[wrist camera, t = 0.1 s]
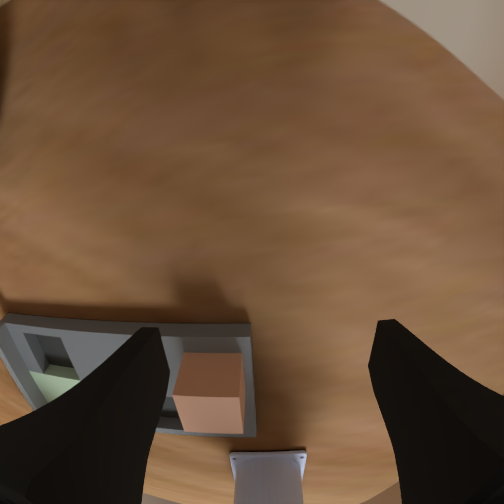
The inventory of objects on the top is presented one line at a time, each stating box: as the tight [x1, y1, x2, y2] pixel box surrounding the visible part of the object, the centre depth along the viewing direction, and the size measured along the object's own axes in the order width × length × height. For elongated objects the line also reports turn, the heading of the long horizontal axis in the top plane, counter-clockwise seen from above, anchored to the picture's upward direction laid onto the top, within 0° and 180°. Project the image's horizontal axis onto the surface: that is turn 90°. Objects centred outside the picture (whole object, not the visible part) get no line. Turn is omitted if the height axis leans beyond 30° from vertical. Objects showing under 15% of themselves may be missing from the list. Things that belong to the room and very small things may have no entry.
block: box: [172, 352, 245, 434], centre depth 20 cm, size 4×4×4 cm
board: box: [0, 313, 257, 437], centre depth 23 cm, size 12×22×3 cm, turn 93°
